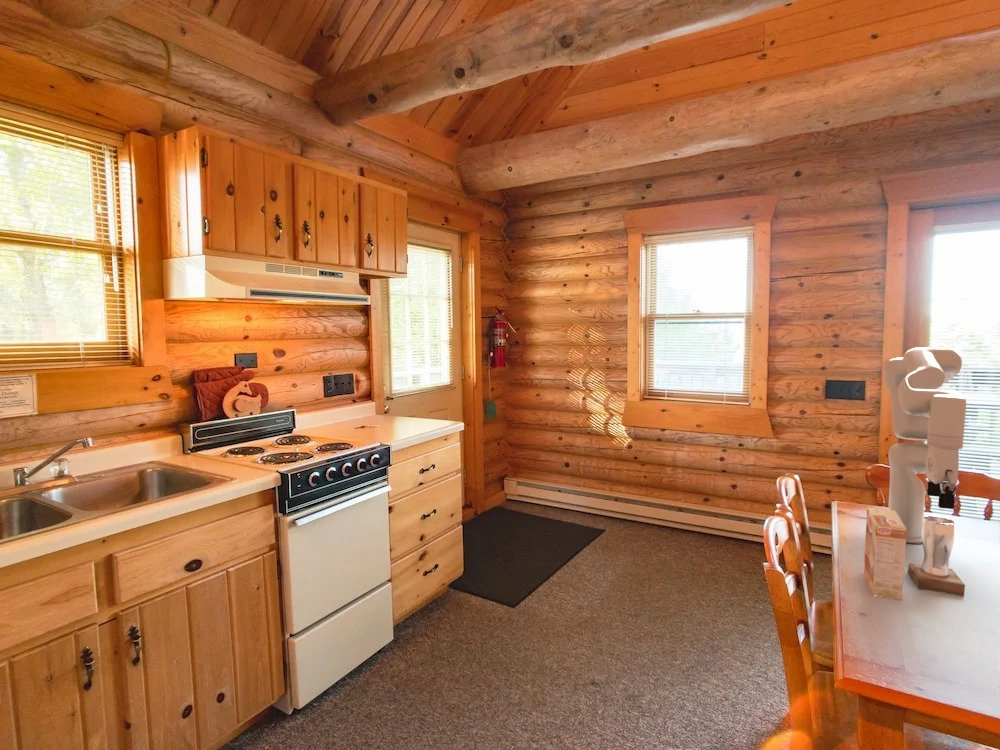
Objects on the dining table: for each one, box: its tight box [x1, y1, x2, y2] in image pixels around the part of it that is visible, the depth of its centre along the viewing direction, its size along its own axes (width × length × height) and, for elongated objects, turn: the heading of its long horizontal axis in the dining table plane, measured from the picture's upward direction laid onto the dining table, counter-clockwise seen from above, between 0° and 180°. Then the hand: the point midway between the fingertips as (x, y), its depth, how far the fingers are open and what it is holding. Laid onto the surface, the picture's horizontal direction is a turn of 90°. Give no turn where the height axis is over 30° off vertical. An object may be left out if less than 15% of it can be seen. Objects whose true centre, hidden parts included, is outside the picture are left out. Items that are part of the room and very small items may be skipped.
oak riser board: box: [907, 562, 966, 597], centre depth 153 cm, size 10×10×3 cm
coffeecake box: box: [863, 507, 907, 601], centre depth 151 cm, size 15×7×20 cm, turn 154°
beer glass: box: [921, 515, 955, 577], centre depth 152 cm, size 7×7×15 cm
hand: (939, 501), depth 151 cm, fingers open, 9 cm apart
